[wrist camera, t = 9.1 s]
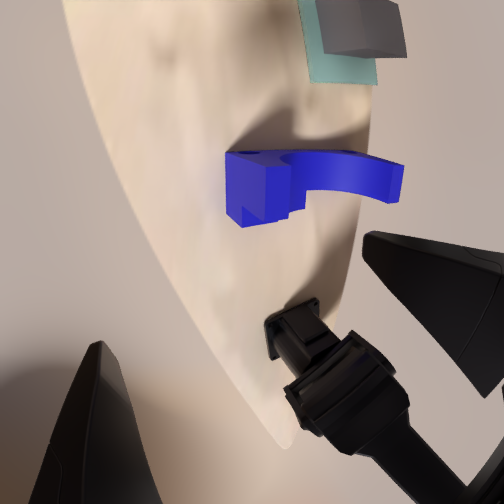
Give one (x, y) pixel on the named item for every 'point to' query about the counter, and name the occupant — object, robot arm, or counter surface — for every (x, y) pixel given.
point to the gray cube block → (361, 28)
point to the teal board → (329, 65)
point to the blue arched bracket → (301, 180)
